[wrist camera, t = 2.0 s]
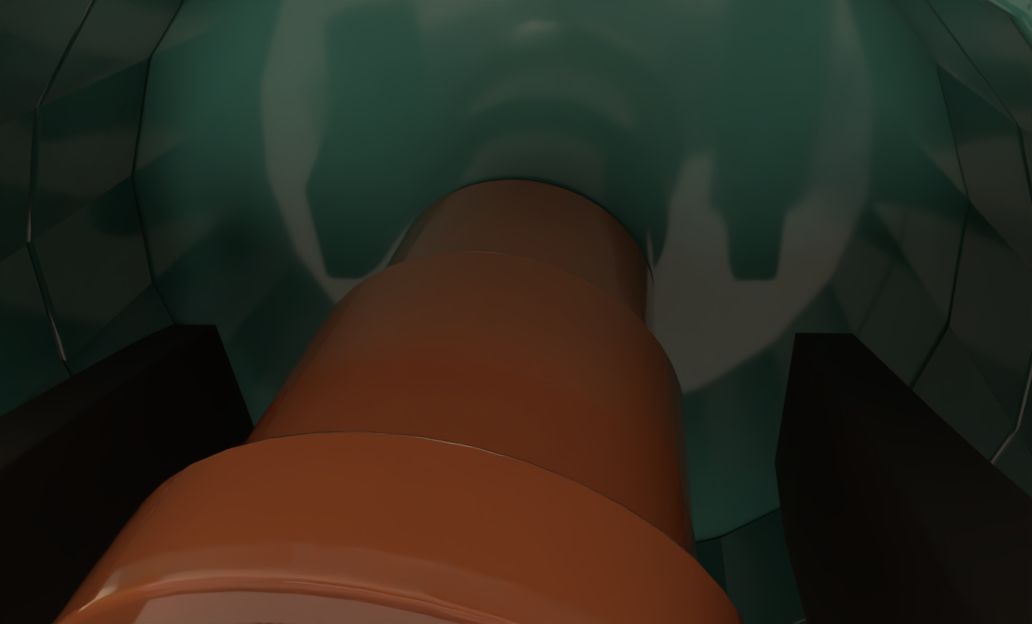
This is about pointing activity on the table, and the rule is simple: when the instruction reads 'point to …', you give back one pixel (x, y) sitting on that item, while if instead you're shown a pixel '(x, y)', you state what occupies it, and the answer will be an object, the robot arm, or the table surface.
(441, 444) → the flower pot
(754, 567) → the shallow green dish
